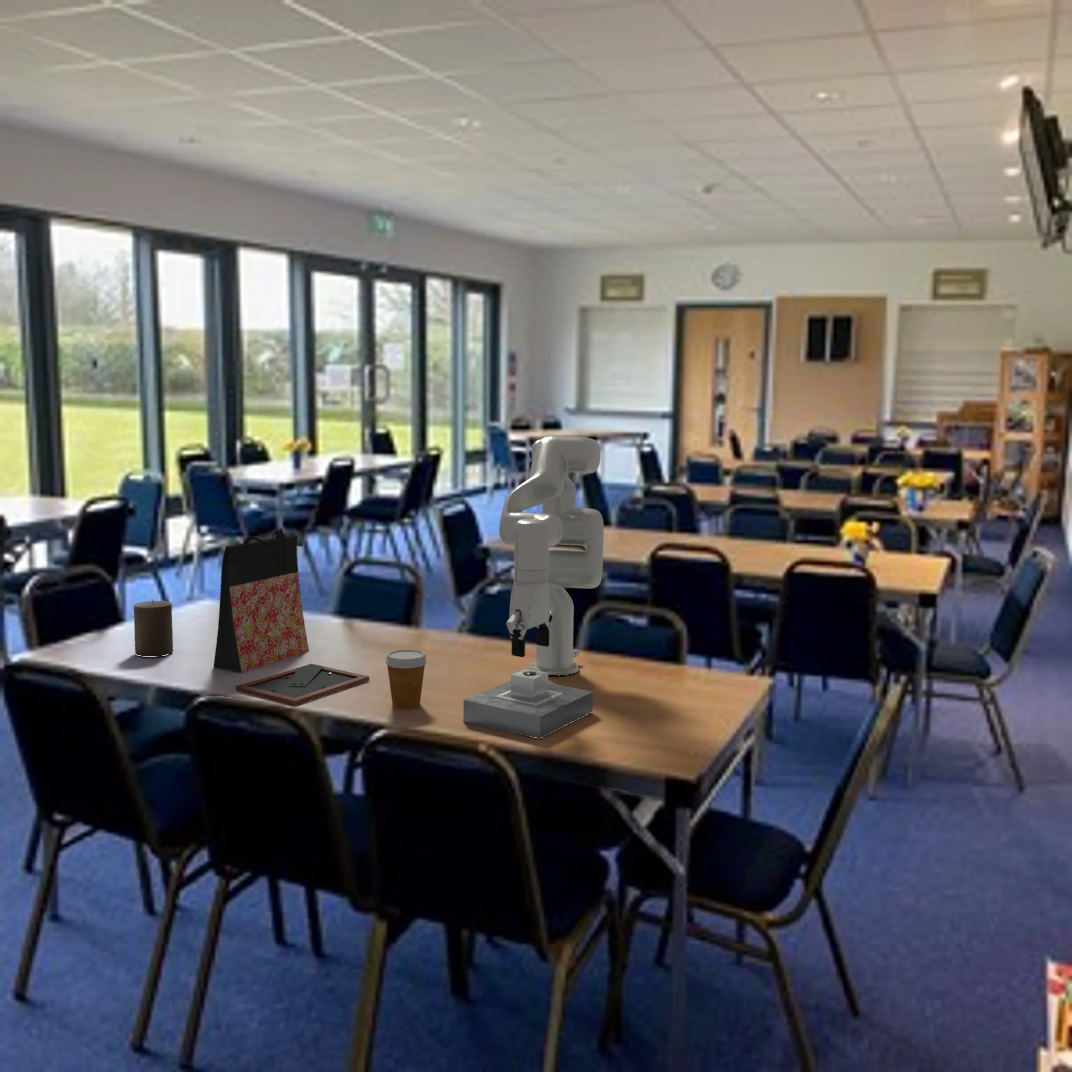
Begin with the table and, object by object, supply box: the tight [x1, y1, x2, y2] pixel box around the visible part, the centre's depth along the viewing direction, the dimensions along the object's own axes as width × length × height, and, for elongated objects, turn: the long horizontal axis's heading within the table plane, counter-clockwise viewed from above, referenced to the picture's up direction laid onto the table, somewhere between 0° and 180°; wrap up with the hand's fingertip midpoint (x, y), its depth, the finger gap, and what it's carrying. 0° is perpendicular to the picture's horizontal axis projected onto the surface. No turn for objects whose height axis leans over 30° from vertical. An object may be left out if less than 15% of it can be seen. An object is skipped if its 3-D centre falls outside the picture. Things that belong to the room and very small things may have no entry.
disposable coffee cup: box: [384, 649, 428, 710], centre depth 239 cm, size 10×10×12 cm
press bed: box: [462, 680, 594, 740], centre depth 232 cm, size 22×20×5 cm
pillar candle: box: [133, 599, 174, 656], centre depth 280 cm, size 10×10×15 cm
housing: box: [510, 668, 549, 701], centre depth 232 cm, size 6×6×5 cm
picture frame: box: [235, 663, 370, 707], centre depth 254 cm, size 20×2×25 cm
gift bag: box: [213, 527, 310, 674], centre depth 276 cm, size 29×14×35 cm, turn 152°
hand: (530, 650), depth 231 cm, fingers open, 9 cm apart
